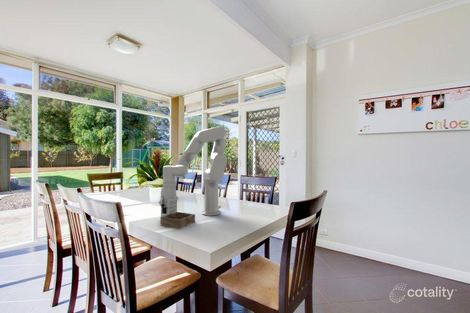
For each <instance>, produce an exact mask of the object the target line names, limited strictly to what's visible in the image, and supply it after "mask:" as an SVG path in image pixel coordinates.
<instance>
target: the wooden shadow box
mask: <svg viewBox="0 0 470 313" xmlns="http://www.w3.org/2000/svg"><path fill="white" fill-rule="evenodd" d="M159 222H160V226H165V227H168V228H174V229H181V228H183V227H186V226H189V225H191V224H193V223H195V222H196V214H194V213H188V212H182V211H177V212H175V213H172V214H169V215H166V216H162V217H161V216H160V221H159Z"/></svg>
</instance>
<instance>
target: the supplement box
mask: <svg viewBox="0 0 470 313" xmlns="http://www.w3.org/2000/svg"><path fill="white" fill-rule="evenodd" d="M163 201H164V200H163ZM163 201H162V203H163ZM164 202H165V201H164ZM164 205H165V203H164ZM166 208H167V213H166V214H163V213H162V207H161V206H160V217H162V216H166V215H169V214H172V213H175V212H178V200H177V198H173V199H169V200H167V203H166Z"/></svg>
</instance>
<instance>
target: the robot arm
mask: <svg viewBox="0 0 470 313" xmlns="http://www.w3.org/2000/svg"><path fill="white" fill-rule="evenodd" d="M226 134H227V131H226V129H225V127H223V126H221V125H218V126H214V127H210V128H207V129H202V130H199V131H196V133H195V134H194V136H193V137H192V139H191V141H190V142H189V144H188V145H187V147H186V149H185V150H184V152H183V153H182V155H181V156H180V158H179V159H178V161H177V163H176V164H175V165H172V164H171V165H164V166H163V167H162V187H161V190H160V199H159V201H158V204H159V205H160V208H161V207H162V213H163V214H166V213H167V208H166V203H167V200H169V199H173V198H177V201H178V200H179V197H178V196H177V188H176V177H180V178H182V177H185V176H187V174H189V173H188V172H189V169H188V167H189V165H190V164H191V163H192V161H193V160H194V159H195V158H197V157H198V155H199V154H200V152H201V150H202V149H203V147H204V145H205V144H206V143H211V142H213V147H212V150H211V154H210V157H209V164H210V167H209V168H207V169H205V171H204V172H203V182H204V210H203V211H202V212H201V213H202V215H203V216H211V217H212V216H218V215H220V214H221V210H219V209H221V208H222V206H221V205H219V183H220V182H221V181H222V179H223V176H224V173H225V170H226V167H227V162H228V158H227V156H226V155H225V151H226V147H227V145H226V140H225V136H226ZM163 200H164V201H165V202H164V201H163ZM162 201H163V203H162ZM164 203H165V205H164Z"/></svg>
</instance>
